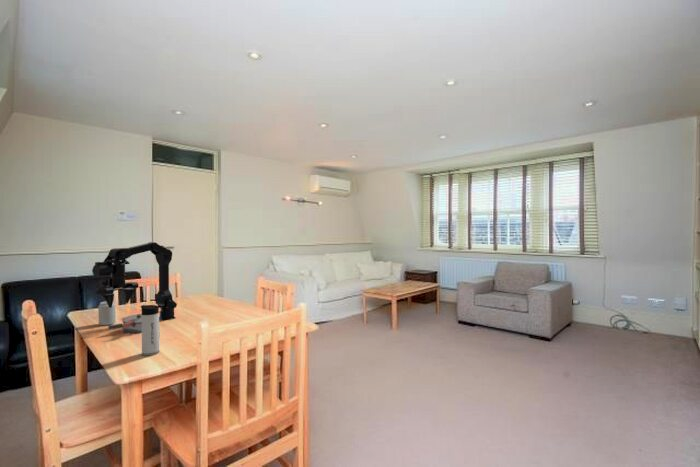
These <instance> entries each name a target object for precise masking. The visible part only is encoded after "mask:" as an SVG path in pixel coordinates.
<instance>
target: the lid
mask: <svg viewBox="0 0 700 467" xmlns="http://www.w3.org/2000/svg"><path fill="white" fill-rule="evenodd" d="M141 314H142V313H138V314H137V313H136V314H131V315H128V316H125V317H122V321H121V322H122V324H123V323H125V324H123V327H130V326H131V325H133V324H135V323H141V322H142V319H141V316H142V315H141ZM123 327H122V328H123Z"/></svg>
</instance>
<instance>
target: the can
mask: <svg viewBox="0 0 700 467" xmlns="http://www.w3.org/2000/svg"><path fill="white" fill-rule="evenodd" d="M97 308H98V311H97V312H98V324H99V326H104V327H106V326H107V327H108V326H110V325H115V323H116V322H117V321H116V320H117V319H116V317H117V316H116V313H117V312H116V308H117V307H116V303H115V301H114V300H113V304H112V307H111V308H109V306H108V304H107V302H106V300H105V301H102V302H100V303H99V305H97Z"/></svg>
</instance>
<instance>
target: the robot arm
mask: <svg viewBox="0 0 700 467" xmlns="http://www.w3.org/2000/svg"><path fill="white" fill-rule="evenodd" d="M149 251H150V252H151V254H153V255H154V257H155V260H156V263H157V264H158V292H157V293H155V294H154V302H155V304H156V306H158V307H159V309H160V310H159V317H162V320H161V321H169V320H174V319H176V317H175V308H177V305H178V303H177V302H176V301H174V300H173V295H172V293H171V291H170V274H169V273H170V269H169V268H170V267H169V266H170V263H171V261H172V260H173V259H172V258H173V252H172V250H171V249H169V248H166V247H164V246H162V245H160V244H159V243H158V242H155V241H154V242H153V241H149V242H147V243H143V244H138V245H134V246H130V247H116V248H111V249H110V250H109V251H108V254H107V255H106V257H105V259H104V260H103V261H96V262H94V265H93V267H92V269H91V271H92V274H93V276H94V277H96V278H97V277H106V276H108V279H106V280H105V279H99V280H98V282H97V283H98V288H96V295H99V296H101V297H102V298H104V300H105V301H106V302H107V304H108V306H109V308H111V307H112V304H113V301H114V297H115V293H114V292H115V291H119V290H123V292H124V300H125V304H129V302H130V301H131V299H132V296H133V295H134V293H135V292H136V290H138V289H139V288H140V286H139V283H138V282H136V281H128V282H126V279H127V278H128V275H126V265H129V264H131V263H130V261H128V260H127V259H129V258H130V257H131V256H134V255H137V254H142V253H145V252H149Z"/></svg>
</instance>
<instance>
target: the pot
mask: <svg viewBox="0 0 700 467" xmlns="http://www.w3.org/2000/svg"><path fill="white" fill-rule="evenodd" d="M159 321H163V320H162V317H160V316H159ZM123 324H125V323H123V322H122V323H117V324H115V323H114V324H112V325H107V328H108V329H107V330H115V329H120V328H122V332H123V333H124V334H128V335H129V334H131V335H134V334H142V322H141V323H135V324H133V325H131V326H130V327H123Z"/></svg>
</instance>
